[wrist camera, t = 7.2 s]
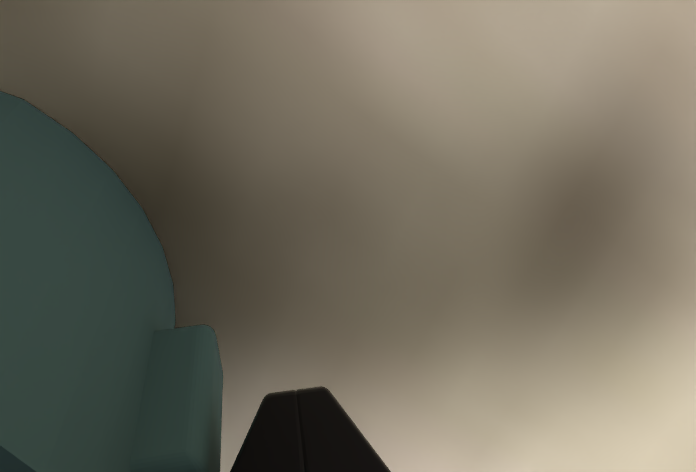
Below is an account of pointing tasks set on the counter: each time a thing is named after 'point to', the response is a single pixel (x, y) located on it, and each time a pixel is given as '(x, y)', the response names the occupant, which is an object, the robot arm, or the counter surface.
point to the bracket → (92, 320)
